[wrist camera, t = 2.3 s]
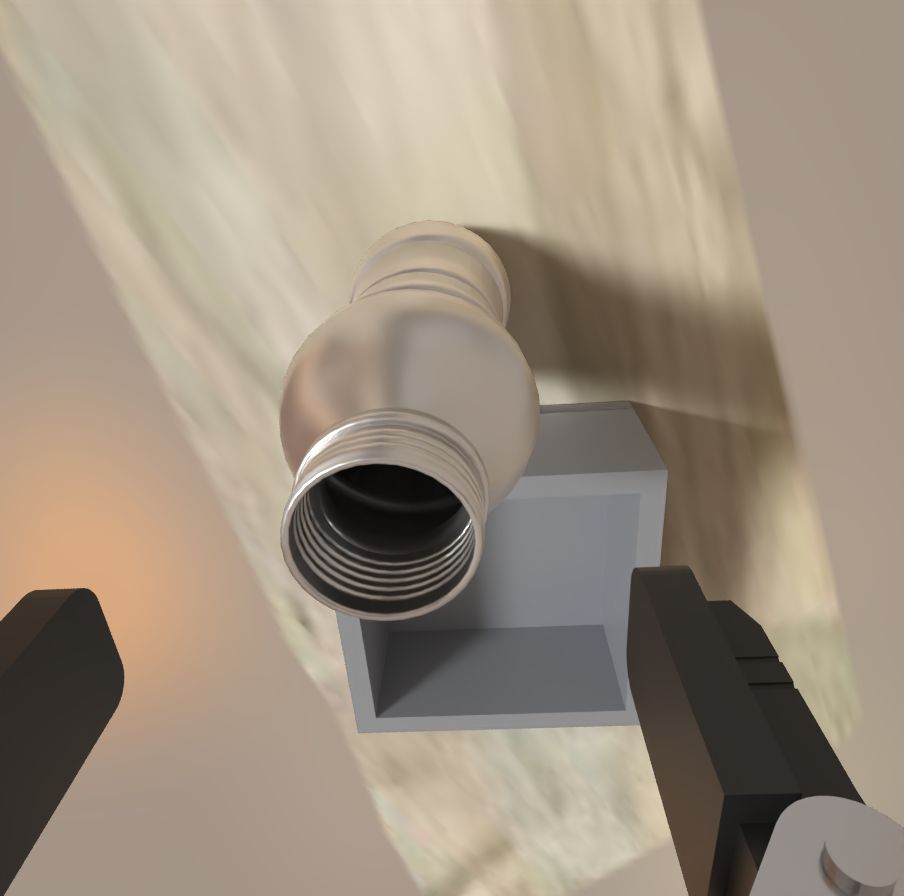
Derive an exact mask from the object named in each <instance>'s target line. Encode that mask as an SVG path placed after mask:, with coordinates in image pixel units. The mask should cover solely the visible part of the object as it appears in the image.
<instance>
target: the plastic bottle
mask: <svg viewBox="0 0 904 896" xmlns="http://www.w3.org/2000/svg"><path fill="white" fill-rule="evenodd" d="M510 304H511V294H510V284H509V280H508V276H507V273H506V270H505V268H504V266H503V264H502V262H501V260H500V258H499V256H498V255H497V254H496V253H495V251H494V250H493V249H492V248H491V246H490V245H489V244H488V243H487V242H485V241H484V240H483V239H482V238H481V237H479V236H478V235H477V234H475V233H473V232H472V231H470V230H468V229H466V228H464V227H462V226H459V225H455V224H452V223H448V222H441V221H422V222H414V223H410V224H407V225H404V226H401V227H398V228H396V229H394V230H392V231H391V232H389V233H387V234H386V235H384V236H382V237H381V238H380V239H379V240H378V241H377V242H376V243H374V244H373V245H372V246H371V247H370V248H369V250H368V251H367V252H366V254H365V255H364V256H363V258H362V259H361V261H360V263H359V265H358V267H357V269H356V271H355V273H354V277H353V281H352V285H351V289H350V300H349V305H347V306H345V307H344V308H342V309H340V310H338V311H336V312H335V313H334V314H333V315H332V316H330V317H329V318H328V319H327V320H326V321H325V322H324V323H322V324H321V325H320V326H319V327H318V328H317V329H316V330H315V331H314V332H313V333H312V334H311V335H309V336H308V338H307V339H306V340H305V342H304V343H303V344H302V346H301V347H300V348H299V350H298V351H297V352H296V354H295V355H294V356H293V359H292V361H291V363H290V365H289V367H288V370H287V372H286V374H285V376H284V379H283V384H282V389H281V393H280V398H279V426H280V437H281V442H282V447H283V451H284V455H285V459H286V461H287V464H288V466H289V468H290V470H291V472H292V474H293V476H294V478H295V480H294V484H293V488H292V494H291V496H290V498H289V500H288V502H287V504H286V506H285V509H284V513H283V518H282V522H281V529H280V533H281V548H282V552H283V556H284V560H285V562H286V564H287V566H288V568H289V570H290V572H291V574H292V576H293V577H294V578H295V580H296V581H297V582H298V583H299V584H300V586H301V587H302V588H303V589H304V590H305V591H306V592H307V593H309V594H310V595H311V596H312V597H313V598H314V599H316V600H317V601H319V602H320V603H322V604H324V605H326V606H327V607H329V608H331V609H333V610H335V611H338V612H340V613H343V614H346V615H348V616H352V617H357V618H361V619H366V620H377V621H393V620H404V619H409V618H413V617H417V616H421V615H424V614H426V613H429V612H431V611H433V610H436V609H438V608H440V607H441V606H443V605H445V604H446V603H448V602H449V601H451V600H452V599H454V598H455V597H456V596H457V595H458V594H459V593H460V592H461V591H462V590H463V589H464V588H465V587H466V586H467V584H468V583H469V581H470V580H471V579H472V577H473V576H474V574H475V572H476V569H477V567H478V564H479V562H480V559H481V556H482V553H483V547H484V540H485V524H486V521H487V518H488V513H490V512H491V511H493V510H494V509H495V508H496V507H497V506H498V505H499V504H500V503H501V502H502V501H503V500H504V499H505V498H506V497H507V496H508V495H509V494H510V492H511V491H512V489H513V488H514V486H515V485H516V483H517V482H518V481H519V479H520V478H521V476H522V474H523V472H524V469H525V467H526V465H527V463H528V460H529V458H530V456H531V453H532V451H533V448H534V446H535V444H536V440H537V434H538V429H539V423H540V404H539V394H538V390H537V387H536V383H535V379H534V376H533V373H532V371H531V369H530V367H529V365H528V363H527V361H526V359H525V357H524V355H523V353H522V351H521V350H520V348H519V346H518V344H517V342H516V341H515V340H514V339H513V337H512V336H511V335H510V334H509V333H508V331H507V330H506V329H505V328H506V325H507V321H508V317H509V311H510Z"/></svg>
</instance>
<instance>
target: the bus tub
mask: <svg viewBox="0 0 904 896" xmlns="http://www.w3.org/2000/svg"><path fill="white" fill-rule="evenodd" d="M667 479H668V468H667V467H666V465H665V463H664V461H663V459H662V458H661V456H660V454H659V452H658V451H657V449H656V447H655V445H654V444H653V442H652V440H651V438H650V437H649V435H648V433H647V431H646V430H645V428H644V426H643V424H642V422H641V421H640V419H639V417H638V415H637V414H636V412H635V410H634V408H633V407H632V405H631V403H630V401H617V402H598V403H579V404H560V405H542V406H540V423H539V429H538V434H537V440H536V444H535V446H534V448H533V451H532V453H531V456H530V458H529V460H528V463H527V465H526V467H525V469H524V472H523V474H522V476H521V478H520V479H519V481H518V482H517V483H516V485H515V486H514V488H513V489H512V491H511V492H510V494H509V495H508V496H507V497H506V498H505V499H504V500H503V501H502V502H501V503H500V504H499V505H498V506H497V507H496V508H495V509H494V510H493V511H491V512H490V513H488V518H487V521H486V524H485V540H484V547H483V553H482V556H481V559H480V562H479V564H478V567H477V569H476V572H475V574H474V576H473V577H472V579H471V580H470V581H469V583H468V584H467V586H466V587H465V588H464V589H463V590H462V591H461V592H460V593H459V594H458V595H457V596H456V597H455V598H454V599H452V600H451V601H449V602H448V603H446V604H445V605H443V606H441V607H440V608H438V609H436V610H433V611H431V612H429V613H426V614H424V615H421V616H417V617H413V618H409V619H404V620H393V621H377V620H366V619H361V618H357V617H352V616H348V615H346V614H343V613H340V612H338V611H336V616H337V622H338V627H339V633H340V638H341V643H342V649H343V654H344V659H345V665H346V670H347V676H348V681H349V686H350V692H351V697H352V702H353V708H354V713H355V719H356V724H357V729H358V733H381V732H417V731H452V730H487V729H522V728H557V727H592V726H627V725H640V722H639V719H638V715H637V712H636V708H635V705H634V701H633V697H632V694H631V690H630V685H629V679H628V671H627V658H626V648H627V631H628V616H629V600H630V584H631V575H632V571H633V569H634V568H636V567H660V558H661V547H662V536H663V524H664V513H665V502H666V491H667Z"/></svg>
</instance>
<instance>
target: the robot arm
mask: <svg viewBox="0 0 904 896" xmlns="http://www.w3.org/2000/svg"><path fill="white" fill-rule="evenodd" d="M626 658H627V671H628V679H629V685H630V690H631V694H632V697H633V701H634V705H635V708H636V712H637V715H638V719H639V722H640V726H641V729H642V733H643V736H644V740H645V743H646V747H647V750H648V754H649V757H650V761H651V764H652V768H653V771H654V775H655V778H656V782H657V785H658V789H659V793H660V796H661V800H662V803H663V807H664V810H665V814H666V817H667V821H668V824H669V828H670V831H671V835H672V838H673V842H674V845H675V849H676V852H677V856H678V859H679V862H680V866H681V869H682V874H683V877H684V880H685V884H686V888H687V891H688V894H689V896H904V828H903V827H902V826H901V825H900V824H898V823H897V822H895V821H894V820H892V819H891V818H889V817H888V816H886V815H885V814H883V813H881V812H879V811H877V810H875V809H873V808H871V807H868V806H867V805H866V804H865V803H864V801H863V800H862V798H861V797H860V795H859V794H858V792H857V791H856V789H855V787H854V785H853V784H852V782H851V780H850V778H849V777H848V775H847V773H846V771H845V770H844V768H843V766H842V765H841V763H840V761H839V759H838V758H837V756H836V754H835V753H834V751H833V749H832V747H831V746H830V744H829V742H828V740H827V739H826V737H825V735H824V734H823V732H822V730H821V728H820V727H819V725H818V723H817V721H816V720H815V718H814V716H813V715H812V713H811V711H810V709H809V708H808V706H807V704H806V703H805V701H804V699H803V697H802V696H801V694H800V692H799V690H798V689H795V688H794V684H793V680H792V678H791V677H790V675H789V673H788V672H787V670H786V668H785V666H784V665H783V663H782V662H779V659H778V654H777V653H776V651H775V649H774V647H773V646H772V644H771V642H770V641H769V639H768V637H767V635H766V634H765V632H764V630H763V628H762V627H761V625H760V624H758V623H757V622H756V621H755V620H754V619H752V618H751V617H750V616H749V615H748V614H746V613H745V612H744V611H743V610H742V609H740V608H739V607H738V606H737V605H735V604H734V603H733V602H732V601H731V600H728V601H707V600H706V598H705V596H704V594H703V592H702V590H701V588H700V586H699V584H698V582H697V580H696V578H695V576H694V574H693V572H692V570H691V569H690V568H689V567H688V566H661V567H636V568H634V569H633V571H632V575H631V584H630V600H629V616H628V631H627V648H626ZM123 687H124V669H123V664H122V661H121V659H120V656H119V653H118V651H117V648H116V645H115V643H114V640H113V638H112V635H111V632H110V630H109V627H108V624H107V622H106V619H105V616H104V614H103V611H102V609H101V606H100V604H99V601H98V599H97V597H96V595H95V594H94V593H93V592H92V591H91V590H89V589H86V588H76V589H53V590H34V591H32V592H30V593H28V594H26V595H25V596H24V597H23V598H22V599H21V600H20V601H19V602H18V603H17V604H16V605H15V607H14V608H13V609H12V610H11V611H10V612H9V613H8V614H7V615H6V616H5V617H4V618H3V620H1V621H0V896H4V894H5V892H6V891H7V889H8V888H9V886H10V884H11V883H12V881H13V879H14V878H15V876H16V874H17V873H18V871H19V869H20V868H21V866H22V864H23V863H24V861H25V859H26V858H27V856H28V854H29V853H30V851H31V850H32V848H33V846H34V844H35V843H36V841H37V839H38V838H39V836H40V834H41V833H42V831H43V829H44V828H45V826H46V825H47V823H48V821H49V820H50V818H51V816H52V815H53V813H54V811H55V810H56V808H57V806H58V805H59V803H60V801H61V800H62V798H63V797H64V795H65V793H66V792H67V790H68V788H69V787H70V785H71V783H72V782H73V780H74V778H75V777H76V775H77V773H78V771H79V770H80V768H81V767H82V765H83V763H84V762H85V760H86V758H87V757H88V755H89V753H90V752H91V750H92V748H93V747H94V745H95V744H96V742H97V740H98V738H99V737H100V735H101V734H102V732H103V730H104V729H105V727H106V725H107V724H108V722H109V720H110V719H111V717H112V715H113V713H114V712H115V710H116V709H117V707H118V705H119V702H120V700H121V696H122V692H123Z"/></svg>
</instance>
